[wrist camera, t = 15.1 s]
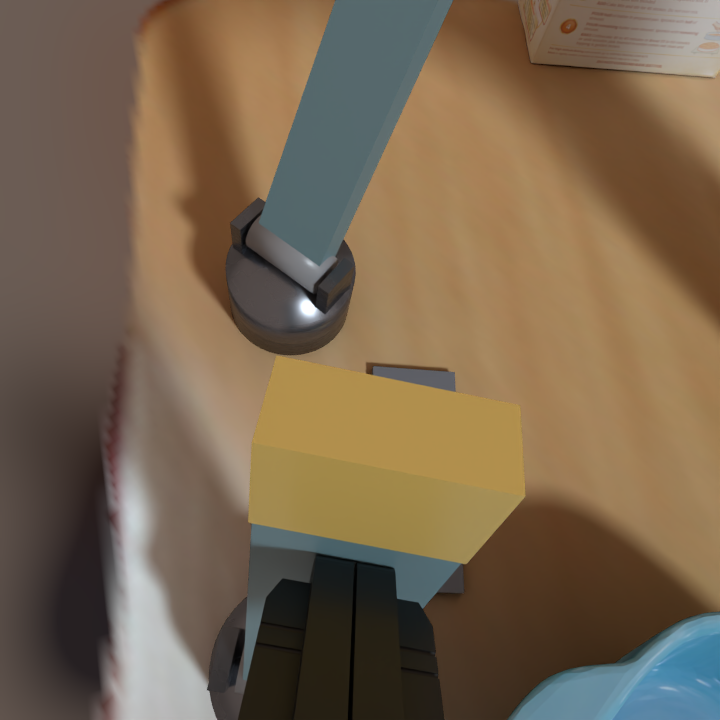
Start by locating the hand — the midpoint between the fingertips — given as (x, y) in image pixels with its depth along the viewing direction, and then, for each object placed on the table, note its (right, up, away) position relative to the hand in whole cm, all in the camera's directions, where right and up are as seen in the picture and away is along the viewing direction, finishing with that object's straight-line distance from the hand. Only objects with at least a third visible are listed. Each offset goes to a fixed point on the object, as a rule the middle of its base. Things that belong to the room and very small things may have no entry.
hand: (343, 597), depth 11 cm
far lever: (-3, +10, +17) cm, 20 cm away
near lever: (-2, -7, +10) cm, 12 cm away
